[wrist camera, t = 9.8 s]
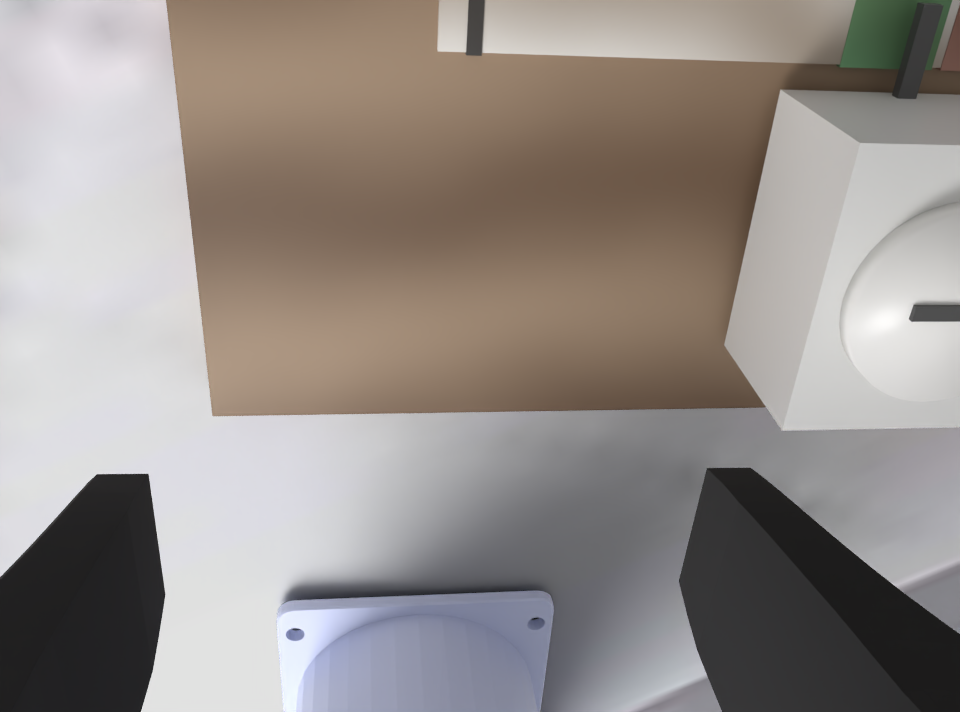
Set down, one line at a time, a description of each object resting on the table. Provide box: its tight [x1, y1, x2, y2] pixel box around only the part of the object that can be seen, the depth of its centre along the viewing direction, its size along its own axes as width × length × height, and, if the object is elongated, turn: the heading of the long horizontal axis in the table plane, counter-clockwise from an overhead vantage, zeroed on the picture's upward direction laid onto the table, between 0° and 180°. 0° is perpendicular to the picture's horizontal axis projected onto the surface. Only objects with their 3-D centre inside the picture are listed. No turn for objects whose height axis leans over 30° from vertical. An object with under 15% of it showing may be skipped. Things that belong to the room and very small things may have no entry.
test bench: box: [166, 0, 960, 416], centre depth 18 cm, size 10×26×7 cm, turn 87°
